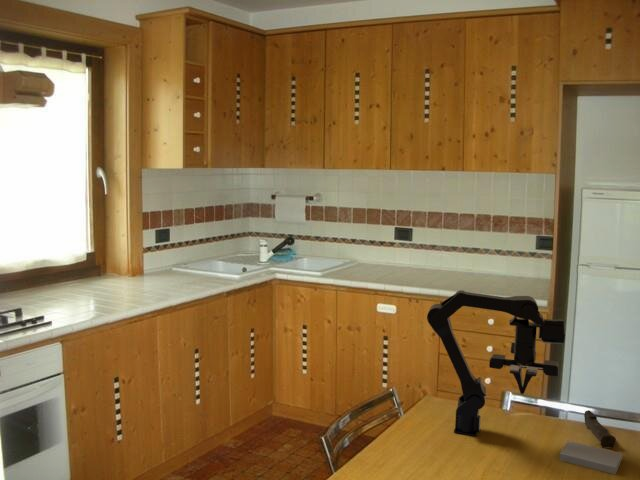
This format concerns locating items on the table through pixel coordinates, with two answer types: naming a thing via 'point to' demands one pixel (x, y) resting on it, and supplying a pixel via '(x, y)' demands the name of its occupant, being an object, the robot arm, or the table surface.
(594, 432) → the dark brown rough rod
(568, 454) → the tile
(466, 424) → the robot arm
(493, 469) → the table surface
